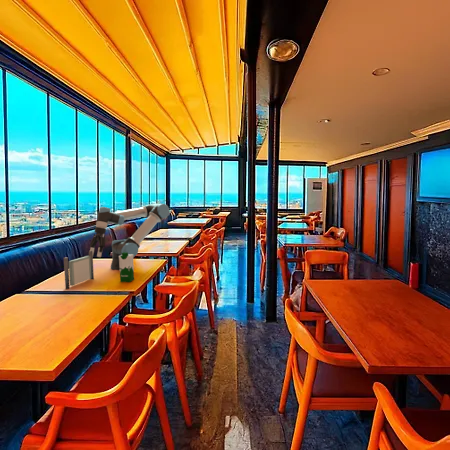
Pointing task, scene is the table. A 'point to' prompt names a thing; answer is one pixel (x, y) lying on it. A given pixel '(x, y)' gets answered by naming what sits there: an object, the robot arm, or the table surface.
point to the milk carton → (126, 267)
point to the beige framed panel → (79, 270)
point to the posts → (68, 270)
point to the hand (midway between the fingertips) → (94, 256)
